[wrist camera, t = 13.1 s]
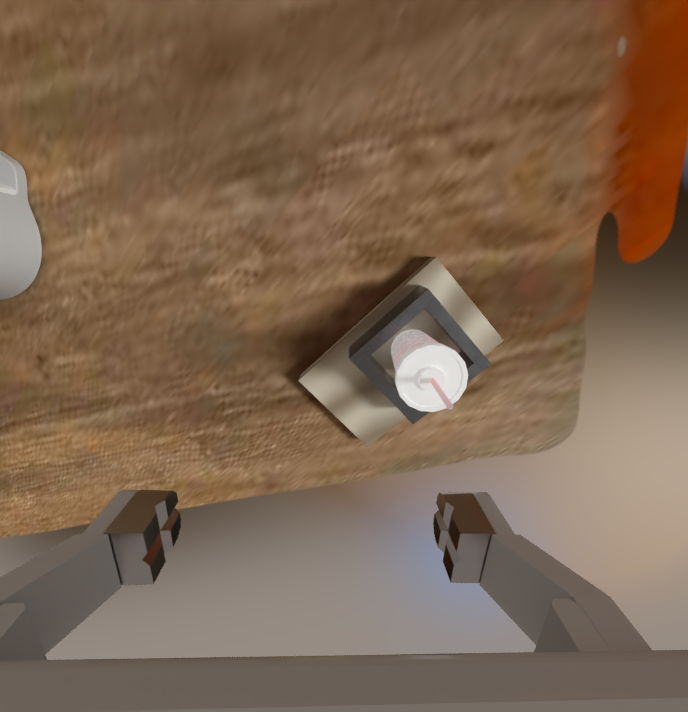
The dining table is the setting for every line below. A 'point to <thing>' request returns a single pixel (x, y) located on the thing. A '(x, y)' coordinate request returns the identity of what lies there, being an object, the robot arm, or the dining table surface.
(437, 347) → the beverage cup
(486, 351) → the socket board
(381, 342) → the cup collar
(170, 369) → the dining table surface
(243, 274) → the dining table surface
